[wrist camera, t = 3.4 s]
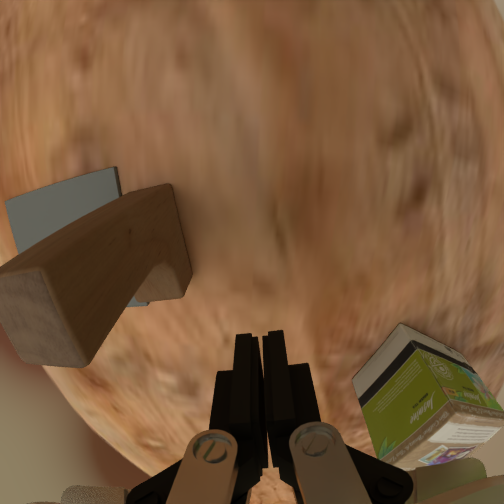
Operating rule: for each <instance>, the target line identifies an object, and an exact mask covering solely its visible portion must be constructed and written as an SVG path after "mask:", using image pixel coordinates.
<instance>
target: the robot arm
mask: <svg viewBox="0 0 504 504" xmlns="http://www.w3.org/2000/svg"><path fill="white" fill-rule="evenodd" d="M262 340H263V366H264V377H263V370H262V363H261V356H260V349H259V341H258V337H252V334H251V333H247V334H236V340H235V351H234V363H233V370H227V371H218V372H217V375H216V382H215V388H214V395H213V403H212V410H211V417H210V424H209V430H206V431H203V432H201V433H199V434H197V435H195V436H194V437H193V438H192V439H191V441H190V442H189V444H188V446H187V449H186V451H185V454H184V457H183V459H181V460H179V461H178V462H176V463H175V464H173V465H172V466H170V467H168V468H167V469H165V470H163V471H162V472H160V473H158V474H157V475H155V476H153V477H152V478H150V479H148V480H147V481H145V482H143V483H141V484H139V485H138V486H136V487H135V488H133V489H125V488H124V487H95V486H80V485H77V486H70V487H68V488H67V489H66V490H65V491H64V492H63V494H62V497H61V503H56V502H33V503H28V504H249V502H250V497H251V492H252V487H253V486H254V485H256V484H257V483H258V482H259V481H260V476H262V468H268V443H267V432H268V439H269V445H270V451H271V457H272V463H273V468H275V467H279V474H280V479H281V480H282V481H284V482H285V483H287V484H288V485H290V486H292V491H293V494H294V498H295V501H296V504H504V475H499V476H492V477H487V475H486V470H485V467H484V465H483V463H482V462H481V461H480V460H478V459H476V458H464V459H460V460H455V461H450V462H445V463H440V464H435V465H429V466H422V467H416V468H415V469H414V470H409V471H404V470H403V469H401V468H398V467H396V466H393V465H391V464H388V463H386V462H383V461H381V460H379V459H376V458H374V457H372V456H370V455H367V454H365V453H363V452H361V451H359V450H356V449H354V448H352V447H350V446H348V445H346V444H345V443H344V441H343V439H342V437H341V435H340V433H339V432H338V430H337V429H336V428H335V427H333V426H332V425H330V424H327V423H325V422H321V419H320V414H319V409H318V404H317V400H316V395H315V390H314V386H313V381H312V376H311V372H310V367H309V364H308V363H302V364H294V365H288V361H287V354H286V347H285V340H284V333H283V330H277V331H268V336H262Z"/></svg>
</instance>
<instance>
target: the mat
mask: <svg viewBox="0 0 504 504" xmlns="http://www.w3.org/2000/svg"><path fill="white" fill-rule="evenodd" d="M121 196H122V194H121V189H120V184H119V178H118V173H117V167H112V168H108V169H104V170H100V171H97V172H93V173H89V174H86V175H82V176H79V177H75V178H72V179H69V180H65V181H62V182H59V183H56V184H52V185H49V186H46V187H43V188H40V189H37V190H34V191H32V192H29V193H26V194H23V195H20V196H18V197H15V198H12V199H10V200H7V201H5V205H6V209H7V214H8V218H9V222H10V225H11V229H12V233H13V236H14V240H15V243H16V247H17V250H18V253H19V254H20V253H22V252H23V251H25V250H26V249H28V248H30V247H31V246H33V245H34V244H36V243H38V242H39V241H41V240H43V239H44V238H46V237H47V236H49V235H51V234H52V233H54V232H56V231H58V230H59V229H61V228H63V227H65V226H66V225H68V224H70V223H72V222H73V221H75V220H77V219H79V218H81V217H82V216H84V215H86V214H88V213H90V212H92V211H94V210H96V209H97V208H99V207H101V206H103V205H105V204H107V203H109V202H111V201H113V200H115V199H117V198H119V197H121ZM148 304H149V302H142V303H140V302H137V301H136V299H135V297H134V296H133V298H132V299H131V301H130V302H129V304H128V305H127V306H126V307H137V306H148Z"/></svg>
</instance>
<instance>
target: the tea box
mask: <svg viewBox="0 0 504 504" xmlns="http://www.w3.org/2000/svg"><path fill="white" fill-rule="evenodd" d="M352 383H353V385H354V388H355V392H356V394H357V397H358V400H359V403H360V406H361V409H362V412H363V415H364V418H365V421H366V424H367V428H368V431H369V434H370V437H371V440H372V443H373V447H374V450H375V453H376V456H377V459H379V460H381V461H383V462H386V463H388V464H391V465H393V466H396V467H398V468H401V469H403V470H404V471H409V470H414V469H415V468H416V467H422V466H429V465H435V464H440V463H445V462H450V461H455V460H460V459H464V458H469V457H470V456H471V455H472V454H473V453H475V452H476V451H477V450H478V449H479V448H480V447H481V446H482V445H484V444H485V443H486V442H487V441H488V440H489V439H490V438H491V437H492V436H493V435H494V434H495V433H496V432H498V431H499V429H500V428H502V427H503V426H504V411H503V409H502V408H501V406H500V405H499V404H498V402H497V401H496V400H495V398H494V397H493V395H492V394H491V392H490V391H489V389H488V388H487V387H486V386H485V384H484V383H483V381H482V380H481V378H480V377H479V376H478V374H477V373H476V372H475V371H474V370H473V368H472V367H471V365H470V364H469V363H468V361H467V360H466V359H465V358H464V356H463V355H462V354H461V353H459V352H457V351H455V350H454V349H451V348H449V347H447V346H446V345H444V344H442V343H439V342H437V341H435V340H433V339H432V338H430V337H428V336H425V335H423V334H421V333H419V332H418V331H416V330H414V329H412V328H409V327H407V326H405V325H403V324H401V323H399V324H398V326H397V327H396V328H395V329H394V331H393V332H392V333H391V334H390V336H389V337H388V338H387V339H386V340H385V342H384V343H383V344H382V345H381V346H380V348H379V349H378V350H377V351H376V352H375V354H374V355H373V356H372V357H371V358H370V359H369V361H368V362H367V363H366V364H365V365H364V366H363V367H362V368H361V370H360V371H359V372H358V373H357V374H356V375H355V377H354V378H353V379H352Z"/></svg>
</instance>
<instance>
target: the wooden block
mask: <svg viewBox="0 0 504 504" xmlns="http://www.w3.org/2000/svg"><path fill="white" fill-rule="evenodd" d="M191 278H192V270H191V266H190V262H189V258H188V255H187V251H186V246H185V242H184V238H183V234H182V230H181V226H180V222H179V217H178V213H177V209H176V204H175V200H174V195H173V191H172V187H171V185H170V184H163V185H158V186H154V187H150V188H145V189H141V190H137V191H133V192H129V193H127V194H125V195H123V196H121V197H119V198H117V199H115V200H113V201H111V202H109V203H107V204H105V205H103V206H101V207H99V208H97V209H96V210H94V211H92V212H90V213H88V214H86V215H84V216H82V217H81V218H79V219H77V220H75V221H73V222H72V223H70V224H68V225H66V226H65V227H63V228H61V229H59V230H58V231H56V232H54V233H52V234H51V235H49V236H47V237H46V238H44V239H43V240H41V241H39V242H38V243H36V244H34V245H33V246H31V247H30V248H28V249H26V250H25V251H23V252H22V253H20V254H19V255H17V256H16V257H14V258H13V259H11V260H10V261H8V262H7V263H5V264H4V265H2V266H1V267H0V322H1V324H2V326H3V328H4V330H5V332H6V334H7V335H8V337H9V339H10V341H11V343H12V344H13V346H14V348H15V350H16V352H17V353H18V355H19V356H20V358H21V359H22V360H23V361H24V362H26V363H28V364H37V365H47V366H58V367H72V368H83V367H86V366H87V365H89V364H90V363H91V361H92V359H93V358H94V356H95V354H96V353H97V351H98V350H99V348H100V346H101V345H102V343H103V342H104V340H105V339H106V337H107V335H108V334H109V332H110V331H111V329H112V328H113V326H114V325H115V323H116V322H117V320H118V318H119V317H120V315H121V314H122V312H123V311H124V309H125V308H126V306H127V305H128V304H129V302H130V301H131V299H132V298H133V296H134V297H135V299H136V301H137V302H140V303H142V302H152V301H161V300H170V299H179V298H182V297H183V296H184V295H185V292H186V290H187V287H188V285H189V282H190V280H191Z"/></svg>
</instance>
